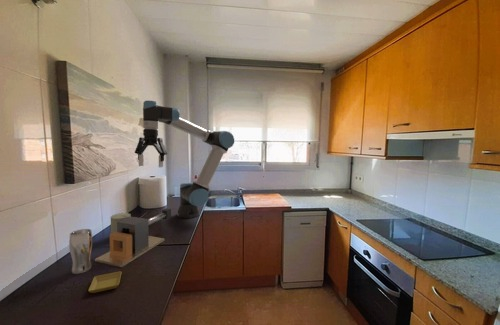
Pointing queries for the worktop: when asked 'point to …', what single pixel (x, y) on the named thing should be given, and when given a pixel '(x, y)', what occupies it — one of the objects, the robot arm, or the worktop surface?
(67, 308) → the worktop surface
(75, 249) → the beer glass
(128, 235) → the strip
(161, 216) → the shaft
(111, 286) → the saucer
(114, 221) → the can
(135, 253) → the block
